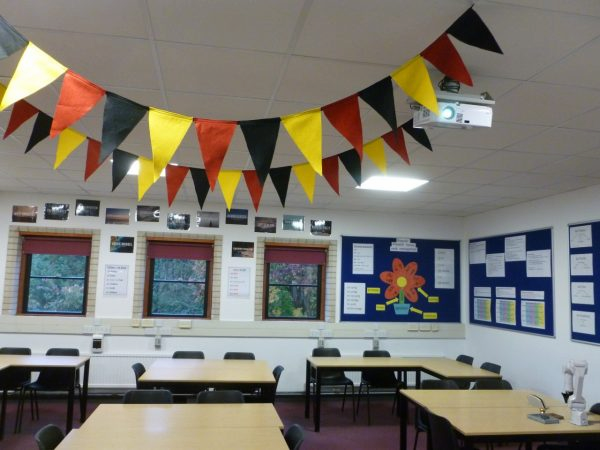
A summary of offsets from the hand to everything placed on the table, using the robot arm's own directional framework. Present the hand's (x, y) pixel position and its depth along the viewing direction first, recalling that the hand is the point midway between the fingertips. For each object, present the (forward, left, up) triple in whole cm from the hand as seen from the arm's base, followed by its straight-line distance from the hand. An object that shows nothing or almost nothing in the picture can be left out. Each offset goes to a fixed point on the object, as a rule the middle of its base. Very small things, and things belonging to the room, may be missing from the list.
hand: (569, 402), depth 341 cm
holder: (+1, +14, -10) cm, 17 cm away
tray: (-3, +26, -10) cm, 28 cm away
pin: (-3, +26, -9) cm, 28 cm away
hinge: (+31, 0, -10) cm, 32 cm away
